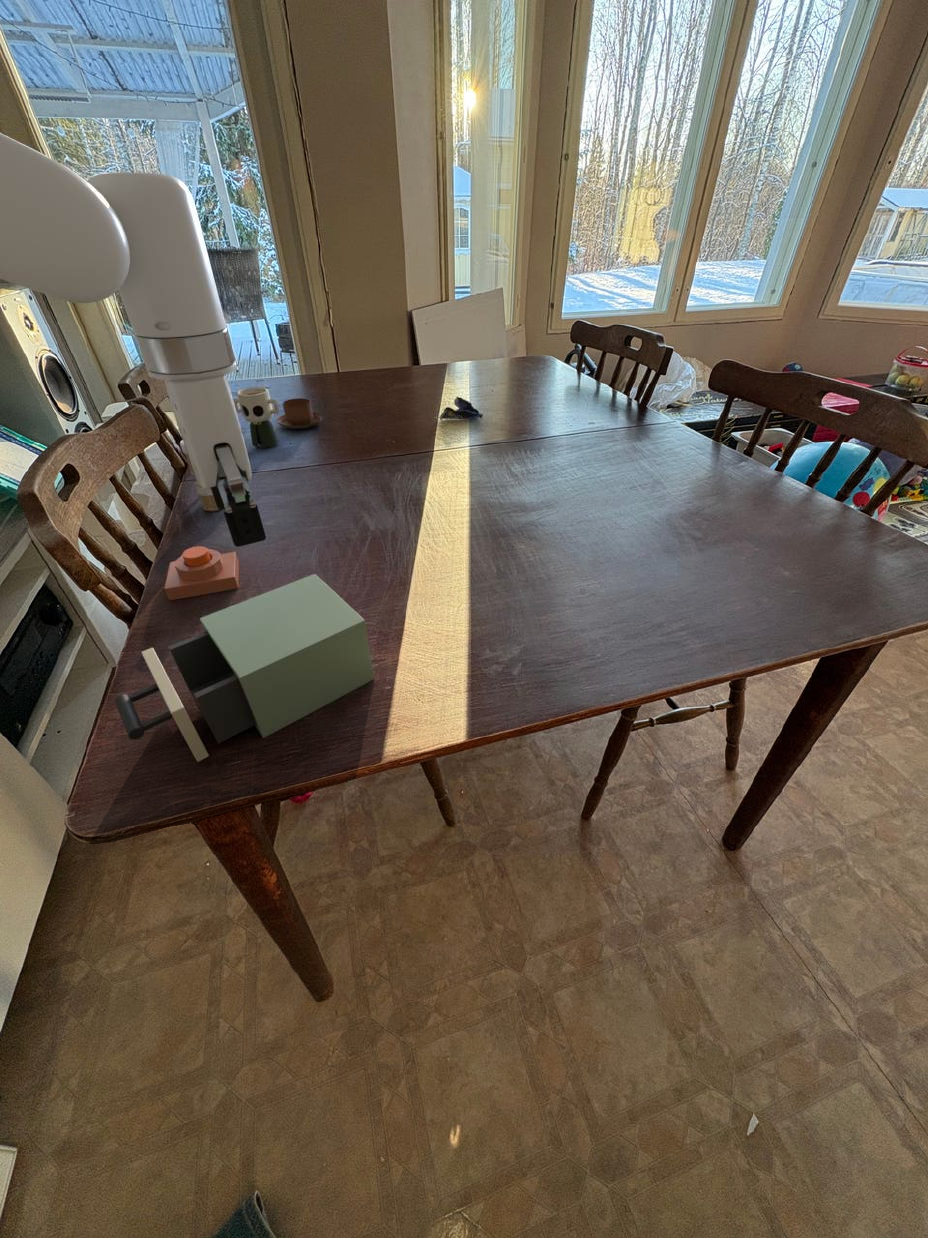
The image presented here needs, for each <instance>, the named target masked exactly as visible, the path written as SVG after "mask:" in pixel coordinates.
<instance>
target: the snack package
mask: <svg viewBox="0 0 928 1238" xmlns="http://www.w3.org/2000/svg"><path fill="white" fill-rule="evenodd" d="M453 404H454V406H455V407H456V408H457V409H453V408H452V407H450V406H447V407H445V408H444V410H443V412H442V413H441V414H440V415H439V416H438V418H439V421H442V420H468V419H471V418H474V417H476V418H478V419H479V418H480V419H483V415H484V414H483V413H481V412H480V411H479V410H478V409H477V408H474V406H473V403H472V402H470V401H469V400H467V399H464V398H462V397H459V396H458V395H457V396H456V397H455V399H454V400H453Z"/></svg>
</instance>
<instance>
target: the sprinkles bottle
mask: <svg viewBox="0 0 928 1238" xmlns="http://www.w3.org/2000/svg"><path fill="white" fill-rule="evenodd" d="M179 446H180V449H181V451H182V453H183V455H184V456H185V459H186V462H187V465H188V469H189V470H190V474H191V477H192V481H193V483H194V487H195V489H196V490H195V491H196V492H197V495H198V497H199V500H200V503H201V508H202V509H203V510H204V511H206V512H215V511H219V510H220V509H218V507H217V505H216V502H215V499H214V496H213V493H212V490H211V487H209V489H210V490H205V489H203V488H202V487H201V486H200V484H199V482H198V480H197V477H196V475H195V473H194V470H193V468H192V465H191V462H190V459H189V456H188V453H187V451H186V448H185V445H184V442H183V439H182V440H180V442H179Z"/></svg>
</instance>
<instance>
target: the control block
mask: <svg viewBox="0 0 928 1238" xmlns="http://www.w3.org/2000/svg"><path fill="white" fill-rule="evenodd" d="M207 550H208V552H209V555H210V558H211V560H210V561H209V562H208V563H206V564H204V565H202V566H197V567H188V566H187V565H186V563H185V561H184V558H183V555H182V554H181V555H180V556H179V557H178V558H177V559H175V560H174V561H170V562H169V565H168V570H167V575H166V578H165V579H166V580H165V584H164V589H163V590H164V592H165V594H166V596H167V598H168V601H174V600H180V599H186V598H191V597H197V596H202V595H209V594H214V593H215V594H216V593H220V592H225V591H226V592H227V591H232V590H237V589H239V586H240V585H239V579H240V575H239V574H240V561H239V558H238V555H237V552H236V551H232V552H225V553H220V552H219V551H217V550H216V549H210V548H207Z"/></svg>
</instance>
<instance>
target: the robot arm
mask: <svg viewBox="0 0 928 1238" xmlns="http://www.w3.org/2000/svg"><path fill="white" fill-rule="evenodd" d="M201 225H202V224H201V221H200V218H199V215H198V211H197V207H196V204H195V200H194V198H193V195H192V193H191V191H190V190H189V188H188V186H187V185H185V183H184V182H183V181H182V180H180V179H179V178H178V177H175V176H172V175H169V174H163V173H156V172H133V171H132V172H131V171H130V172H129V171H128V172H126V171H123V172H122V171H120V172H118V171H114V172H113V171H112V172H111V171H110V172H101V173H96V174H93V175H91V176H89V177H88V178H83V177H82V176H81V175H79V174H78V173H76V172H75V171H74V170H72V169H71V168H69V167H67V166H66V165H64V164H62V163H60V162H59V161H57V160H55V159H53V158H51V157H49V156H47V155H46V154H43V153H42V152H39V151H38V150H36V149H34V148H31V147H30V146H28V145H26V144H24V143H21V142H20V141H18V140H16V139H14V138H12V137H10V136H8V135H6V134H3V133H2V132H0V280H3V281H6V282H8V283H12V284H14V285H18V286H21V287H22V288H23V287H24V288H25V289H29V290H31V291H34V292H37V293H39V294H43V295H47V296H49V297H53V298H55V299H58V300H61V301H65V302H67V303H68V302H69V303H73V304H74V303H76V304H91V303H97V302H101V301H104V300H107V299H108V298H110V297H111V296H112V295H114V294H116V293H117V292H118V293H119V296H120V299H121V301H122V304H123V307H124V310H125V312H126V313H125V314H126V316H127V318H128V320H129V323H130V327H131V329H132V333H133V334H134V337H135V340H136V343H137V346H138V349H139V351H140V354H141V357H142V360H143V362H144V365H145V368H146V371H147V374H148V376H149V378H151V379H154V380H156V381H163V383H164V387H165V389H166V390H165V391H166V393H167V397H168V401H169V404H170V407H171V410H172V413H173V416H174V418H175V422H176V425H177V427H178V430H179V433H180V436H181V439H182V440H183V442H184V445H185V448H186V451H187V453H188V456H189V459H190V462H191V465H192V468H193V470H194V473H195V475H196V477H197V480H198V482H199V484H200V486H201V487H202V488H203V489H205V490H210V489H209V487H211V490H212V493H213V496H214V499H215V502H216V505H217V507H218V509H219V510H220V511H222V512H223V515H224V518H225V522H226V525H227V528H228V531H229V533H230V536H231V541H232V543H233V545H234V546H235V547H237V548H239V547H244V546H247V545H251V544H256V543H259V542H263V541H265V540H266V539H267V535H266V532H265V529H264V525H263V522H262V518H261V514H260V511H259V507H258V504H257V503H256V501H255V499H254V495H253V493H252V491H251V487H250V485H249V482H250V481H251V479H252V478H253V472H252V467H251V463H250V459H249V454H248V450H247V446H246V443H245V439H244V434H243V431H242V426H241V423H240V420H239V416H238V412H236V408H235V404H234V401H233V399H234V398H233V394H232V391H231V386H230V383H229V380H228V376H227V375H228V374H231V373H233V372H234V371H236V370H237V369H238V366H237V361H236V357H235V354H234V350H233V346H232V342H231V338H230V334H229V330H228V327H227V323H226V320H225V315H224V312H223V307H222V303H221V300H220V297H219V292H218V287H217V285H216V284H217V283H216V281H215V277H214V273H213V269H212V265H211V261H210V257H209V253H208V250H207V246H206V242H205V238H204V233H203V229H202V226H201Z"/></svg>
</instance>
